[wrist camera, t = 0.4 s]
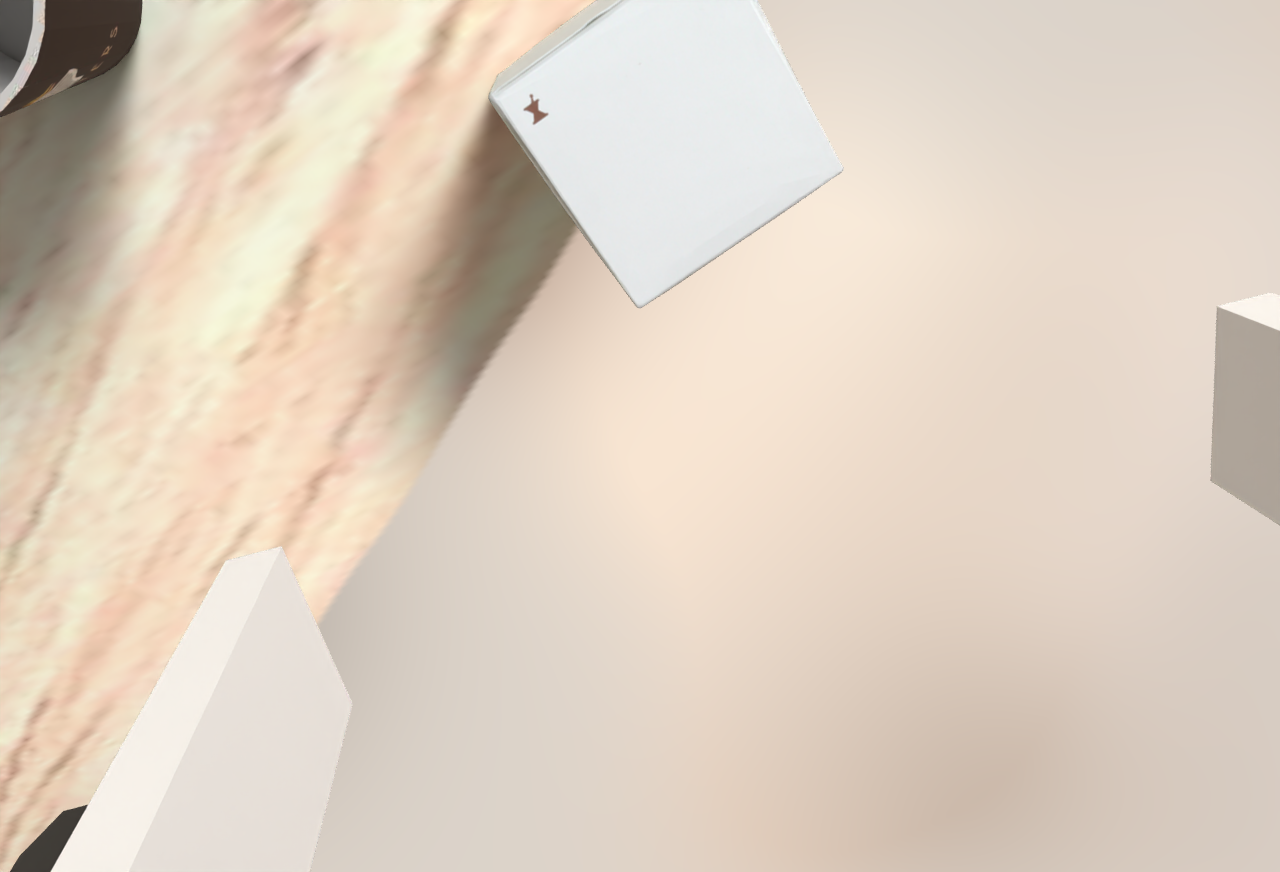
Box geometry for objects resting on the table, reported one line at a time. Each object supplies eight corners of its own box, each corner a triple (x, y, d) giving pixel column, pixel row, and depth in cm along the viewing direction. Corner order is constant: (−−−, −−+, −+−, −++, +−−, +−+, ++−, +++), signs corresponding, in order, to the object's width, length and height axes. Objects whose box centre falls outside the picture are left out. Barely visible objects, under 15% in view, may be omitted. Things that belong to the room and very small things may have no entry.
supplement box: (598, 235, 38) (631, 320, 27) (491, 74, 35) (477, 90, 24) (750, 133, 37) (853, 175, 26) (653, -42, 35) (720, -82, 23)
